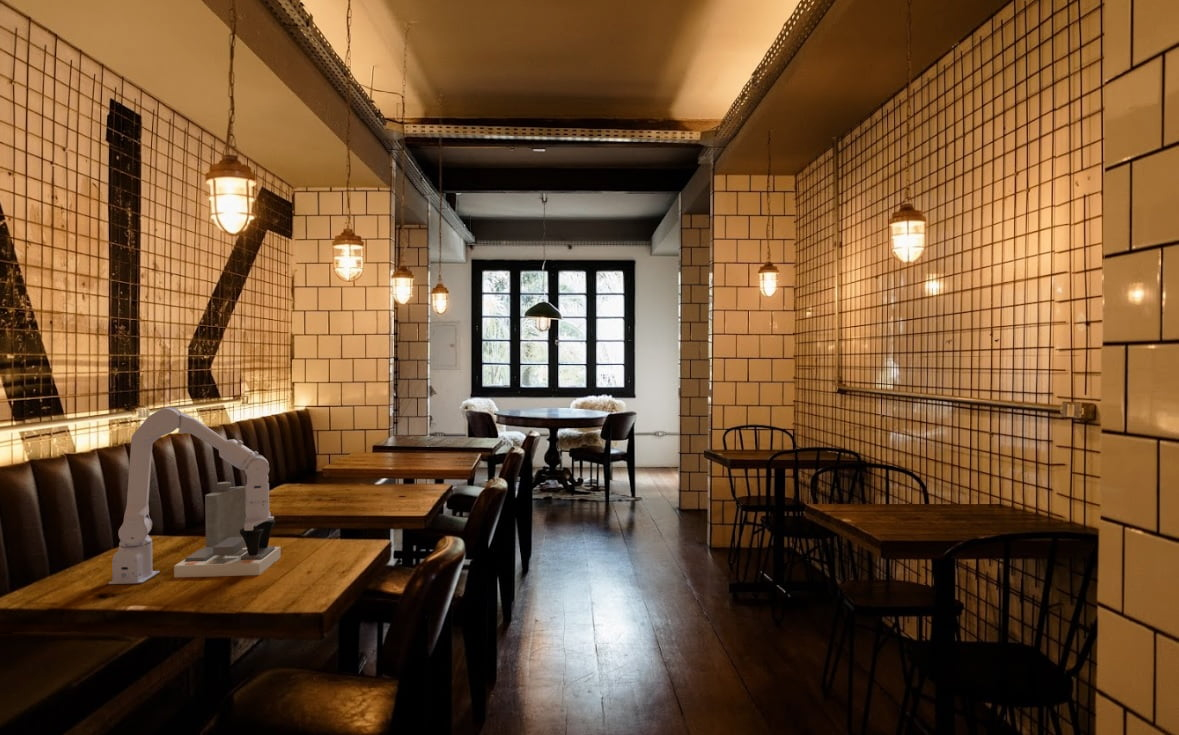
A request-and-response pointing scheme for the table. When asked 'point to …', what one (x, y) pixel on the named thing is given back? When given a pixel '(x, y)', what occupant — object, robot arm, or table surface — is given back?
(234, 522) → the hip flask
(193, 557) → the button
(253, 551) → the robot arm
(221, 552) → the button middle
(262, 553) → the button
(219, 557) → the switch unit
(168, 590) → the table surface
